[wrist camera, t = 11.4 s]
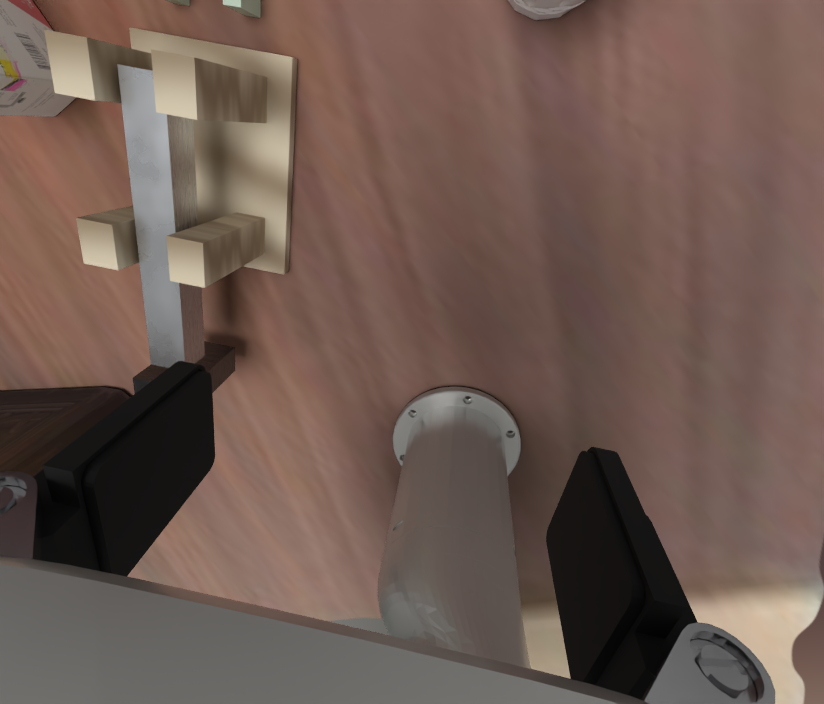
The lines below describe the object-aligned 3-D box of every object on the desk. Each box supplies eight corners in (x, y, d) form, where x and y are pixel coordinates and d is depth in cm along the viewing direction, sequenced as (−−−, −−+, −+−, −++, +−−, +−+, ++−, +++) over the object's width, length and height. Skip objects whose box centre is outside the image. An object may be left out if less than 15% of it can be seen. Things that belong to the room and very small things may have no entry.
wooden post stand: (288, 271, 40) (231, 314, 30) (158, 245, 40) (62, 279, 31) (297, 59, 32) (226, 29, 23) (138, 30, 33) (5, -11, 24)
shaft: (235, 370, 42) (190, 415, 35) (189, 360, 42) (136, 403, 35) (230, 85, 32) (165, 73, 25) (170, 74, 32) (89, 58, 25)
